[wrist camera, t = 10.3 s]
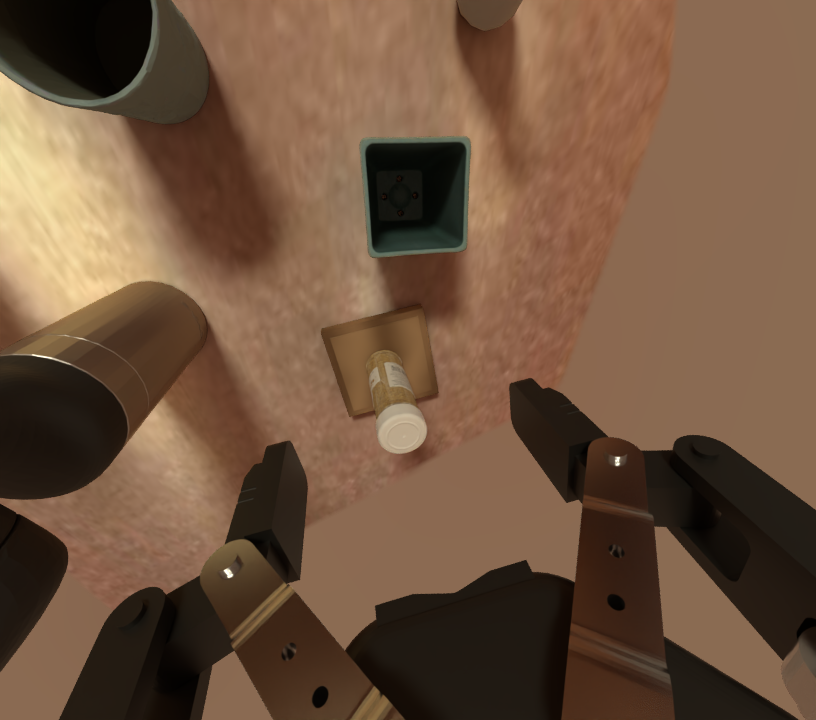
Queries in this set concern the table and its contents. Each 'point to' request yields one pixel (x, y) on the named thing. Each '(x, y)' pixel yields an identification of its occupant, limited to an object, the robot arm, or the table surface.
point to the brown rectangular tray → (374, 334)
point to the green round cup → (106, 56)
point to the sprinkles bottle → (394, 404)
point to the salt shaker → (488, 12)
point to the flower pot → (427, 177)
